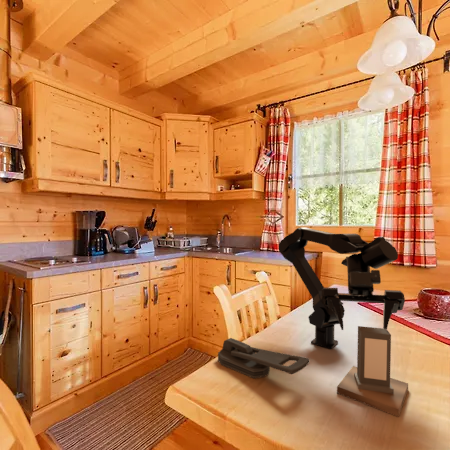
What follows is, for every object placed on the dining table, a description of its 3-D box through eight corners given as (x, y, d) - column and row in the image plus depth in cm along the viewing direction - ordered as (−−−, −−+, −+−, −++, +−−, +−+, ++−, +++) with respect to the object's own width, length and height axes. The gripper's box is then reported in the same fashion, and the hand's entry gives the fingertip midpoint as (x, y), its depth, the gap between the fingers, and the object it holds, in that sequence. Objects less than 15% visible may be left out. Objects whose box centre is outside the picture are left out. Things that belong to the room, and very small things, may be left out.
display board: (353, 371, 73) (353, 365, 73) (408, 389, 66) (408, 383, 66) (337, 393, 64) (337, 386, 64) (398, 417, 56) (398, 409, 56)
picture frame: (354, 376, 68) (355, 324, 68) (386, 381, 66) (387, 327, 66) (358, 388, 63) (359, 332, 63) (393, 393, 62) (394, 336, 61)
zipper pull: (292, 371, 61) (213, 336, 78) (292, 402, 61) (213, 360, 79) (313, 357, 67) (235, 328, 85) (312, 385, 67) (235, 350, 85)
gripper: (320, 257, 76) (319, 314, 66) (402, 258, 69) (414, 321, 59) (323, 279, 83) (323, 332, 74) (397, 281, 76) (407, 340, 67)
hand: (363, 331), depth 68 cm, fingers open, 9 cm apart
